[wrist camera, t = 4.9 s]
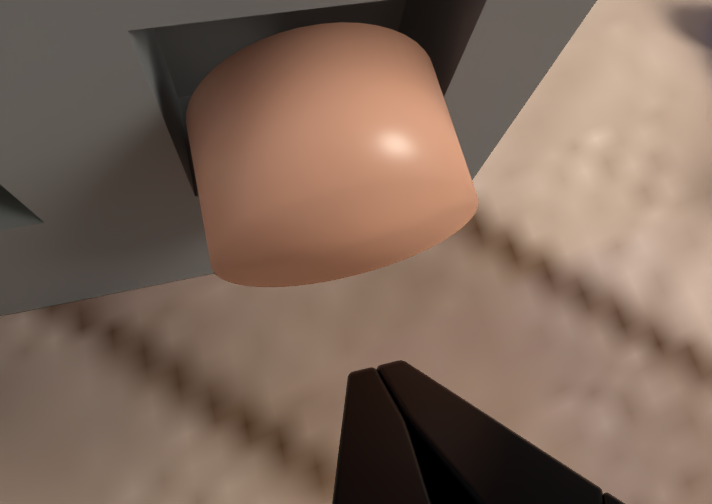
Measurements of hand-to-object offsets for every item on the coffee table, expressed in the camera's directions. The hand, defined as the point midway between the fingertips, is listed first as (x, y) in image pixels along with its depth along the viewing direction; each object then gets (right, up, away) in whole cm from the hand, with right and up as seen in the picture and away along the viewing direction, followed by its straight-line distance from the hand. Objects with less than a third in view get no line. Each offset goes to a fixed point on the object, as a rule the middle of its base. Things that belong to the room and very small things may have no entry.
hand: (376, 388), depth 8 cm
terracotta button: (-1, +3, +3) cm, 4 cm away
